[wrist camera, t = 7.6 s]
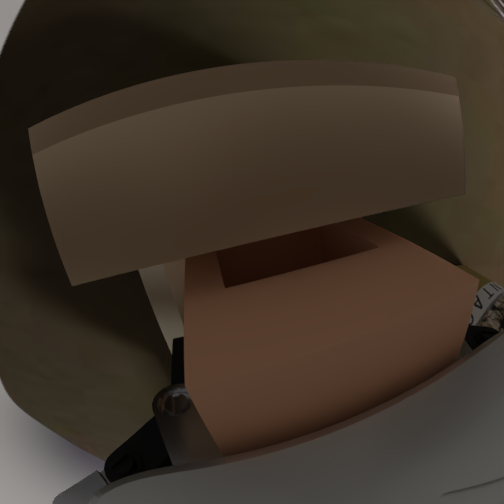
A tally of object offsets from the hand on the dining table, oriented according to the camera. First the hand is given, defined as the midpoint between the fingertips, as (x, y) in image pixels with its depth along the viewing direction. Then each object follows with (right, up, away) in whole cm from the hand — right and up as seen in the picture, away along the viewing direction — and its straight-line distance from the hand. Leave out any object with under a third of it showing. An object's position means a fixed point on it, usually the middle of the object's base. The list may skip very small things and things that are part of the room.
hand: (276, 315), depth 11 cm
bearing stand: (0, -4, +7) cm, 8 cm away
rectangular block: (0, 0, +1) cm, 2 cm away
